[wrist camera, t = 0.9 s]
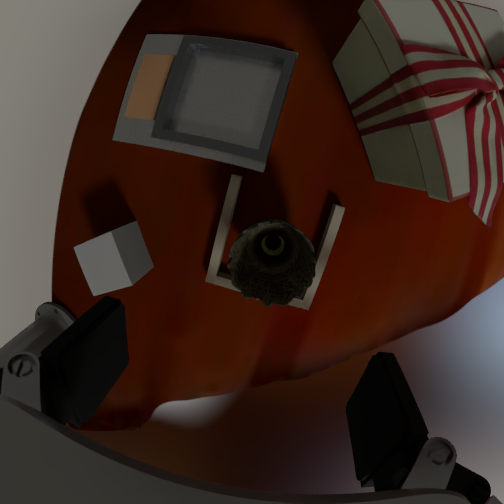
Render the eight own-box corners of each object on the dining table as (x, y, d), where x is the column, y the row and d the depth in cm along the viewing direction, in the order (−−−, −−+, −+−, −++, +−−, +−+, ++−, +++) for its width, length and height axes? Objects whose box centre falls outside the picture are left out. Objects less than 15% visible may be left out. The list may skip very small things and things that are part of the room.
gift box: (385, 217, 29) (480, 268, 12) (318, 66, 25) (359, -25, 8) (483, 172, 26) (580, 189, 9) (430, 42, 21) (507, -10, 5)
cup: (318, 225, 30) (333, 245, 22) (289, 284, 32) (293, 318, 24) (254, 197, 29) (247, 207, 22) (229, 258, 32) (214, 286, 24)
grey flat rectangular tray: (263, 172, 29) (262, 172, 26) (116, 140, 28) (103, 139, 26) (297, 56, 24) (299, 45, 22) (149, 37, 24) (139, 28, 22)
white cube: (117, 277, 34) (93, 296, 28) (101, 235, 32) (73, 247, 26) (154, 266, 33) (132, 285, 27) (137, 220, 31) (110, 231, 25)
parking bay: (307, 303, 32) (308, 309, 31) (208, 276, 32) (205, 281, 31) (341, 206, 29) (345, 208, 27) (233, 174, 29) (231, 174, 27)
